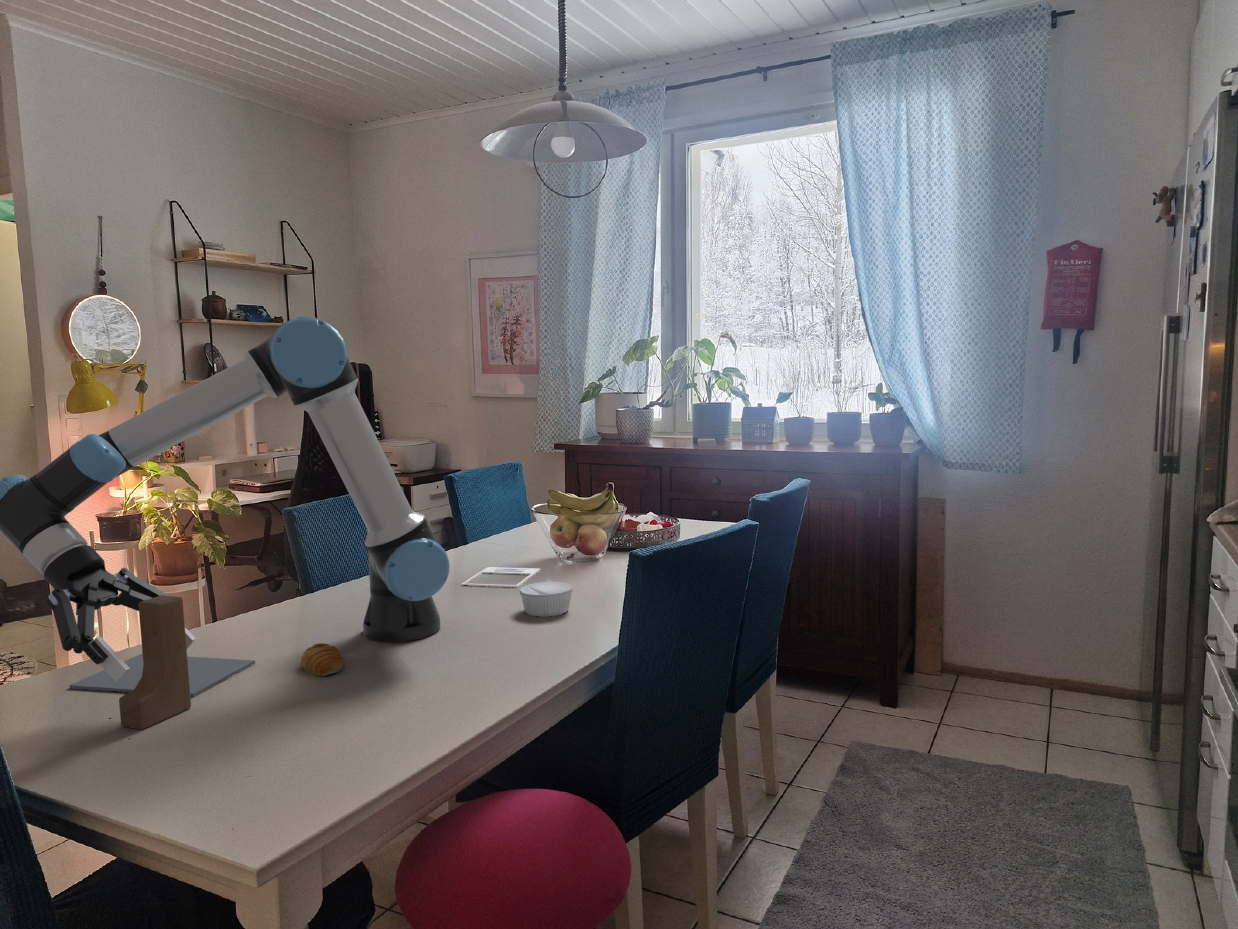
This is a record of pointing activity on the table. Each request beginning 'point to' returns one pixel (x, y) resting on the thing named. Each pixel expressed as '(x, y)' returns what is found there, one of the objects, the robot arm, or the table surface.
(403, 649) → the table surface
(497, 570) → the photo frame
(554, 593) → the ramekin
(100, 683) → the mat
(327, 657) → the pastry
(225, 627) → the table surface
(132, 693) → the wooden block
